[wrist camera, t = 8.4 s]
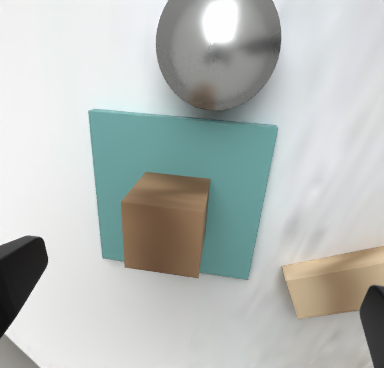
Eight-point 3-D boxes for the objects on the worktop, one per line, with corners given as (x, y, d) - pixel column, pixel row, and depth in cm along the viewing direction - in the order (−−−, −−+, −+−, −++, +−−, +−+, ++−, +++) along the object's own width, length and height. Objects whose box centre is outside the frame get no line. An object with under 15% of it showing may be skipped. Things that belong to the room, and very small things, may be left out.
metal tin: (281, -11, 14) (293, -30, 11) (263, 106, 16) (269, 114, 14) (169, -14, 14) (155, -32, 12) (168, 100, 17) (156, 106, 14)
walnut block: (210, 178, 18) (204, 211, 14) (205, 234, 20) (198, 278, 15) (145, 171, 18) (120, 201, 14) (146, 226, 20) (124, 267, 16)
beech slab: (392, 240, 19) (409, 258, 17) (398, 281, 20) (414, 302, 19) (281, 262, 21) (285, 281, 19) (292, 298, 22) (298, 319, 21)
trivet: (275, 125, 16) (277, 127, 16) (247, 272, 21) (247, 279, 21) (94, 109, 18) (88, 110, 17) (106, 252, 23) (102, 258, 22)
